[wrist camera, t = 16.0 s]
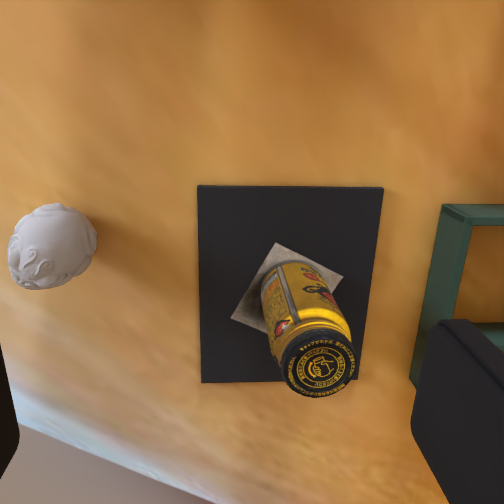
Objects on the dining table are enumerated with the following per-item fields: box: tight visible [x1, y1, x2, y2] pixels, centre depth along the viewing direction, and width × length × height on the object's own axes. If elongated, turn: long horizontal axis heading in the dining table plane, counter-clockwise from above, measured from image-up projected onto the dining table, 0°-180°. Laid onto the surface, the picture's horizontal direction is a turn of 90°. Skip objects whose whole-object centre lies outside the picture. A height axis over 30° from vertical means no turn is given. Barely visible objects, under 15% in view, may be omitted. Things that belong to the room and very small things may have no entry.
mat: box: [197, 185, 384, 383], centre depth 40 cm, size 20×16×1 cm
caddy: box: [409, 204, 504, 390], centre depth 40 cm, size 19×13×4 cm, turn 179°
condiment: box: [231, 243, 357, 398], centre depth 34 cm, size 7×8×12 cm
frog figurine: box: [8, 203, 97, 290], centre depth 34 cm, size 6×7×7 cm
